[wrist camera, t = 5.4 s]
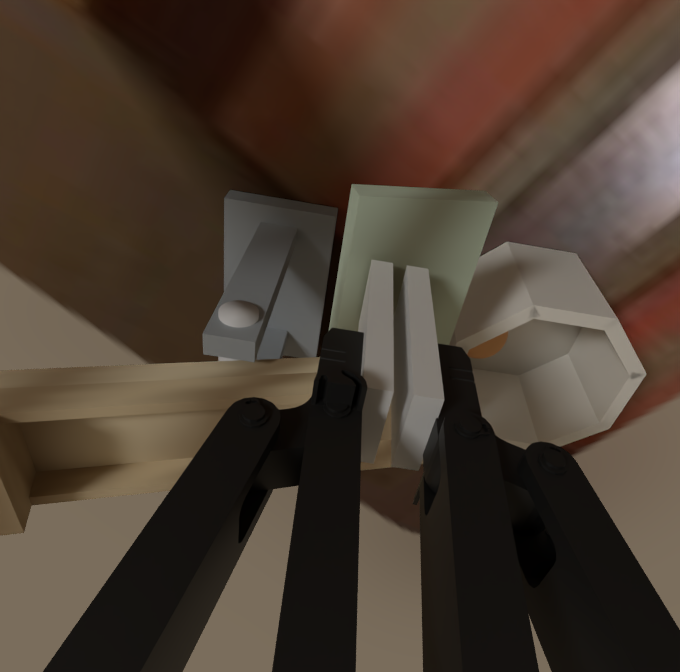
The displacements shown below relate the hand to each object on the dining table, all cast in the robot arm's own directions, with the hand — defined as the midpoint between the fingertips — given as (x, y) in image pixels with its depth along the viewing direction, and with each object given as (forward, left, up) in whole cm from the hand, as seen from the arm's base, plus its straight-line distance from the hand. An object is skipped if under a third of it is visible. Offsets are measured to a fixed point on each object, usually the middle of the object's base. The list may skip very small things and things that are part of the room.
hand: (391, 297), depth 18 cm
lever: (+5, +3, 0) cm, 6 cm away
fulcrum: (+6, +7, -11) cm, 14 cm away
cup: (-9, +7, -11) cm, 15 cm away
